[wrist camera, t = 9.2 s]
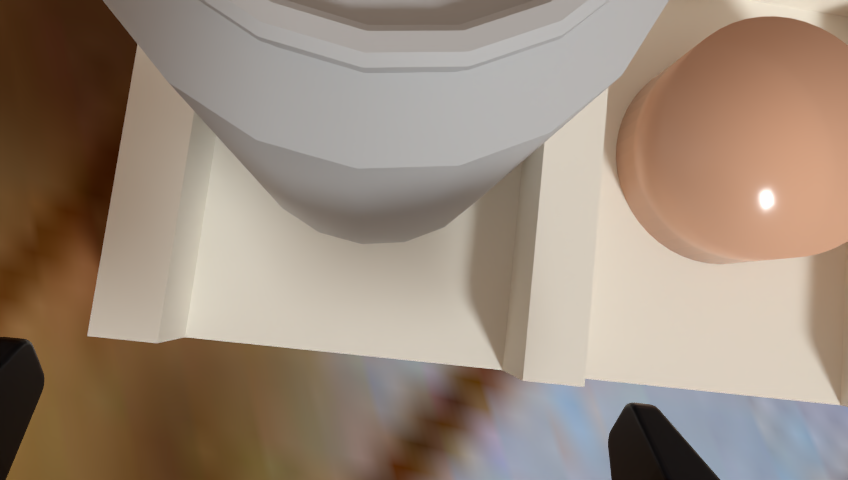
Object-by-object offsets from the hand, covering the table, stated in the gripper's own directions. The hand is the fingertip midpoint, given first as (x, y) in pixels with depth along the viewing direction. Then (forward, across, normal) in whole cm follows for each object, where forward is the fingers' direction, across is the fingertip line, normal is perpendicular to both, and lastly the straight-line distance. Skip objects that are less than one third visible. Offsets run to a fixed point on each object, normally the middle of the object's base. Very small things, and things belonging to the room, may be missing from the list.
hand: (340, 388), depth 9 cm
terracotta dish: (+10, -10, 0) cm, 15 cm away
